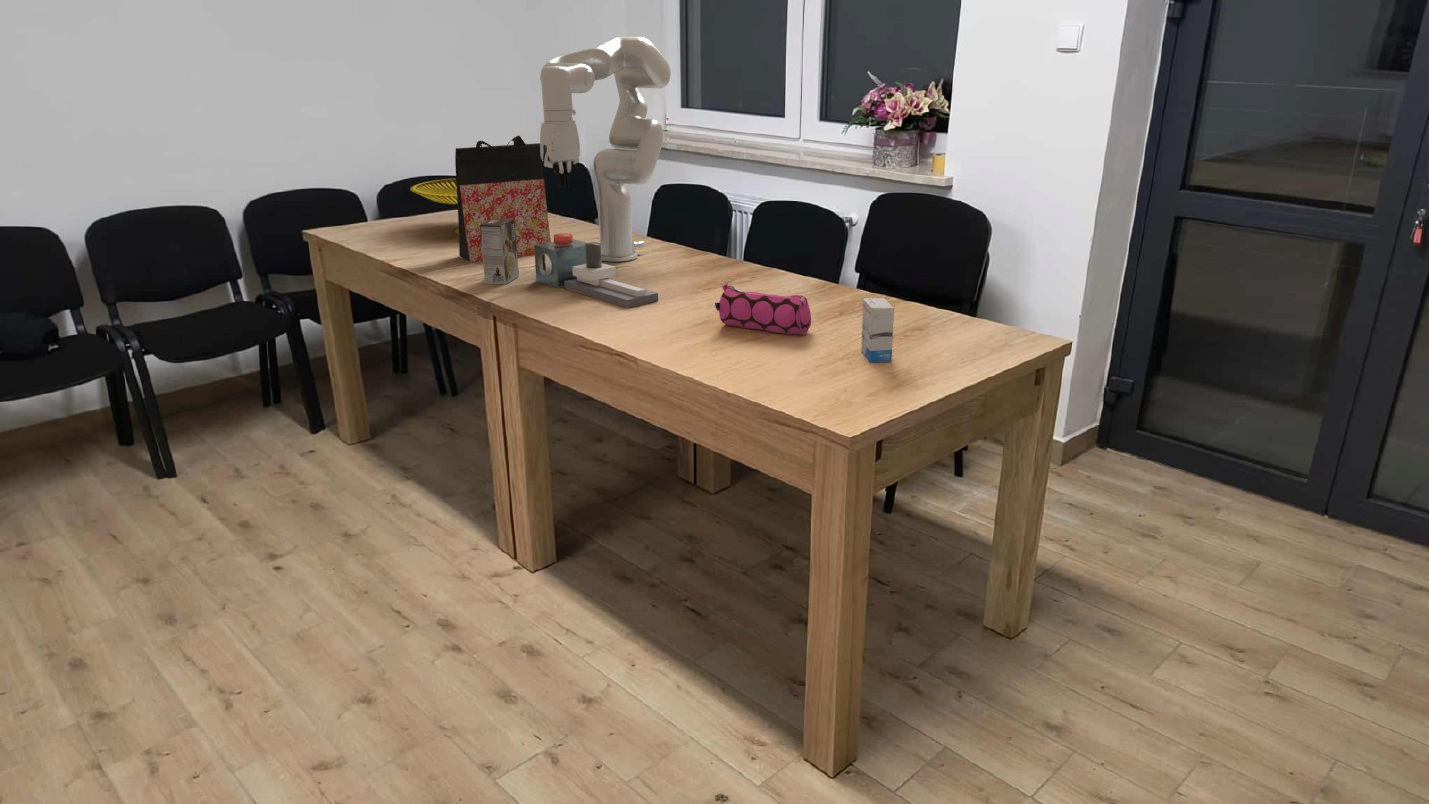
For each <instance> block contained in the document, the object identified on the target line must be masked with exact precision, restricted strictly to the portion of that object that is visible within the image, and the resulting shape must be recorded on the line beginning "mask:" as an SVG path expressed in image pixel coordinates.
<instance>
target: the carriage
mask: <svg viewBox="0 0 1429 804" xmlns="http://www.w3.org/2000/svg"><path fill="white" fill-rule="evenodd" d="M585 247H586V264H583V265H578V266H573V267H572V268H573V276H576V277H577V280H578V281H581V282H585V283H588V284H591V285H595V286H597V285H600V282H599V279H604V278H607V279H610V280H613V277H617V270H616V269H617V267H616V266H614V265H610V264H607V263H602V262H603V261H602V259H601V243H600V242H595V241H593V242H592V241H591V242H586V244H585Z"/></svg>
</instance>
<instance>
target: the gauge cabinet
mask: <svg viewBox="0 0 1429 804" xmlns="http://www.w3.org/2000/svg"><path fill="white" fill-rule="evenodd" d="M586 243H587V242H585V241H582V240H577V239H573V243H571V244H565V245H560V244H555V243H554V241H551V242H548V243H542V244H536V245H534V252H535V255H534V265H535V266H534V267H535V280H536V282H537V283H540V284H543V285H547V286H551V287H553V288H557V289H561V288H565V285H564V281H567V280H572V279H577V277H576V276H573V268H572V267H573V266H578V265H583V264H586V247H585V244H586Z"/></svg>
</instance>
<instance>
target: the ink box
mask: <svg viewBox="0 0 1429 804" xmlns="http://www.w3.org/2000/svg"><path fill="white" fill-rule="evenodd" d="M894 320H895V307H894V306H892V304H890V303H889V301H888V300H887V299H886V298H885V297H883V298H882V297H881V298H879V297H878V298H875V297H871V298H870V297H869V298H868V297H865V298H863V299H862V322H861V323H862V324H861V347H860V349H861V352H862V353H863V355H864V356H865V358H866V359H867V360H868V362H869V363H870V362H871V363H888V362H891V363H892V359H893V337H894V322H895V321H894Z"/></svg>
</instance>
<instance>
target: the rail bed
mask: <svg viewBox="0 0 1429 804" xmlns="http://www.w3.org/2000/svg"><path fill="white" fill-rule="evenodd" d="M599 282H600V285H597V286H595V285H591V284H588V283H585V282H581V281H578V280H577V279H572V280H567V281H564V285H565V287H564V289H565V290H568V291H571V292H575V293H578V294H581V295H585V296H588V297H591V298H594V299H597V300H600V301H603V302H607V303H609V304H610V303H611V304H613V305H616V306H619V307H620V306H621V307H623V308H627V309H629V308H630V309H631V308H633V307H637V306H642V305H646V304H650V303H654V301H655V302H658V301H659V292H656V291H653V290H649V289H645V288H642V287H639V286H635V285H632V284H628V283H625V282H621V281H617V280H614V279H612V280H610V279H607V278H604V279H599Z"/></svg>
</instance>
